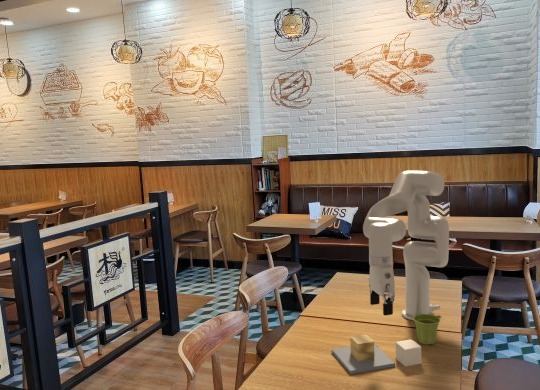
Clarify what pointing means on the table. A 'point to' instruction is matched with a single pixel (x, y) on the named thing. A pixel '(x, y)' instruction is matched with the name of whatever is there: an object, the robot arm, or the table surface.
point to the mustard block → (362, 347)
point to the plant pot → (426, 328)
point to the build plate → (365, 365)
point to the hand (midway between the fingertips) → (381, 309)
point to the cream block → (408, 352)
